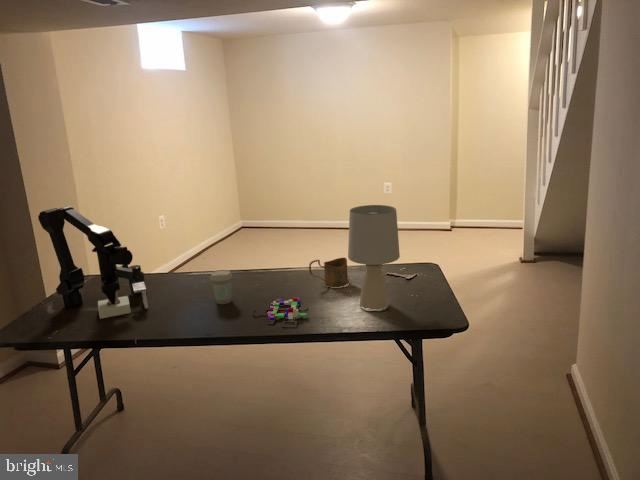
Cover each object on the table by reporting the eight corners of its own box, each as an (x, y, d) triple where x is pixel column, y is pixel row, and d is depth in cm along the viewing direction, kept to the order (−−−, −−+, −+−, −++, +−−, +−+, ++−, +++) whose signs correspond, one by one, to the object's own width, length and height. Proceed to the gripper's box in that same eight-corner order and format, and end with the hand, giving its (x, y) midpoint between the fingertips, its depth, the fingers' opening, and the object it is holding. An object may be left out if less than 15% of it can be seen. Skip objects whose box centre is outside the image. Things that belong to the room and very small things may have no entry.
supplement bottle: (149, 290, 218) (145, 264, 214) (142, 296, 211) (138, 269, 208) (134, 290, 218) (130, 264, 215) (127, 296, 212) (122, 269, 209)
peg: (110, 313, 195) (106, 294, 193) (109, 310, 199) (106, 291, 196) (120, 311, 197) (117, 292, 195) (119, 308, 200) (116, 289, 198)
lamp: (398, 317, 180) (398, 215, 170) (346, 315, 184) (342, 215, 174) (401, 297, 197) (400, 204, 187) (353, 296, 201) (350, 204, 191)
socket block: (99, 318, 191) (98, 310, 190) (99, 309, 200) (97, 301, 199) (130, 312, 195) (129, 304, 194) (129, 303, 204) (127, 295, 203)
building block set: (259, 301, 202) (258, 291, 200) (311, 301, 200) (310, 290, 199) (246, 329, 178) (245, 317, 176) (304, 329, 176) (304, 317, 175)
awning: (137, 311, 197) (133, 290, 194) (135, 303, 205) (132, 283, 202) (148, 308, 198) (145, 288, 196) (146, 301, 206) (143, 281, 204)
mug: (305, 285, 216) (303, 258, 213) (342, 277, 223) (341, 251, 220) (316, 293, 206) (315, 265, 202) (354, 285, 213) (354, 258, 209)
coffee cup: (208, 303, 200) (205, 275, 197) (222, 296, 208) (219, 268, 204) (225, 307, 196) (222, 277, 193) (239, 299, 204) (236, 270, 200)
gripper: (131, 266, 187) (137, 305, 191) (127, 253, 204) (133, 289, 208) (98, 271, 183) (105, 311, 187) (97, 257, 199) (103, 295, 204)
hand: (113, 301), depth 197 cm, fingers open, 5 cm apart
